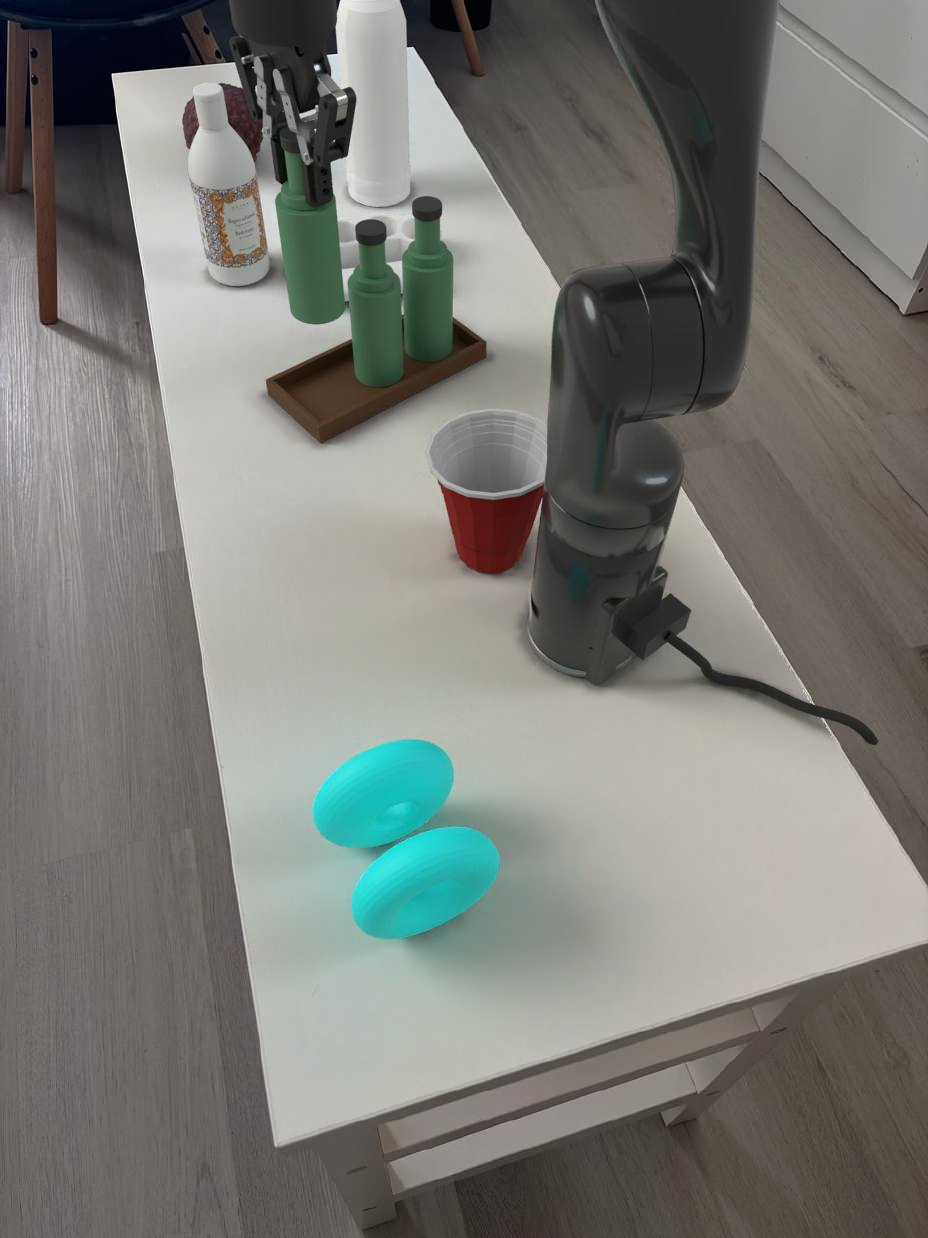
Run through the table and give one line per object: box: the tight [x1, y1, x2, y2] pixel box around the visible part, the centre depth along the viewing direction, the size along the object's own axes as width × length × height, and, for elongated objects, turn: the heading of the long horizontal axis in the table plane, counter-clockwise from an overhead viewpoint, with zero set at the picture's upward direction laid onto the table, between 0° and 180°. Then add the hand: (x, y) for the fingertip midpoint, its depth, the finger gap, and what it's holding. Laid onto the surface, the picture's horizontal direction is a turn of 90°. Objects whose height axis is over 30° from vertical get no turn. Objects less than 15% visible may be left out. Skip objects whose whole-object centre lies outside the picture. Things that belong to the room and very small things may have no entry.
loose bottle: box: [274, 126, 346, 325], centre depth 83 cm, size 5×5×16 cm
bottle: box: [335, 0, 412, 208], centre depth 111 cm, size 8×8×30 cm
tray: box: [265, 313, 488, 444], centre depth 100 cm, size 9×21×2 cm, turn 130°
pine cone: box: [181, 82, 264, 164], centre depth 124 cm, size 18×10×10 cm
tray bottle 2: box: [402, 195, 454, 362], centre depth 97 cm, size 5×5×16 cm
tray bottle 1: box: [347, 219, 404, 387], centre depth 94 cm, size 5×5×16 cm
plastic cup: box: [424, 407, 547, 575], centre depth 82 cm, size 11×11×12 cm
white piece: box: [337, 212, 443, 303], centre depth 111 cm, size 3×18×15 cm
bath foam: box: [187, 82, 271, 287], centre depth 104 cm, size 7×7×20 cm
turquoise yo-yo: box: [312, 738, 501, 940], centre depth 64 cm, size 10×10×10 cm
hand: (304, 191), depth 81 cm, fingers closed on loose bottle, 4 cm apart
